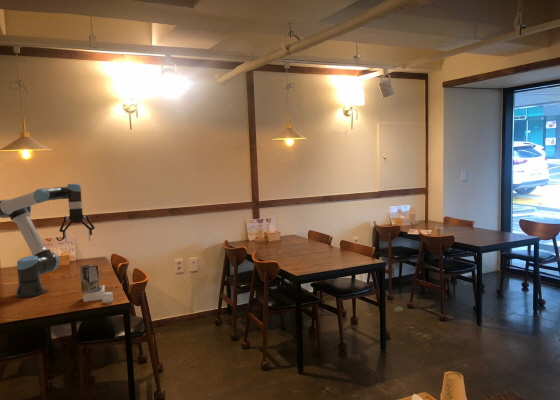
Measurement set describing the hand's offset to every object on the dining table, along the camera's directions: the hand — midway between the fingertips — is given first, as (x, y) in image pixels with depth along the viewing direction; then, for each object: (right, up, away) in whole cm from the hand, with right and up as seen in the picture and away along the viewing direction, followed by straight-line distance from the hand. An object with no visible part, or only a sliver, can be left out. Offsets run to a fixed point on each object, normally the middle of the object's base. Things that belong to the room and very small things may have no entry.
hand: (78, 241), depth 274 cm
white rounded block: (+28, -33, -23) cm, 49 cm away
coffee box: (+14, -30, -14) cm, 36 cm away
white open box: (+16, -32, -13) cm, 39 cm away
